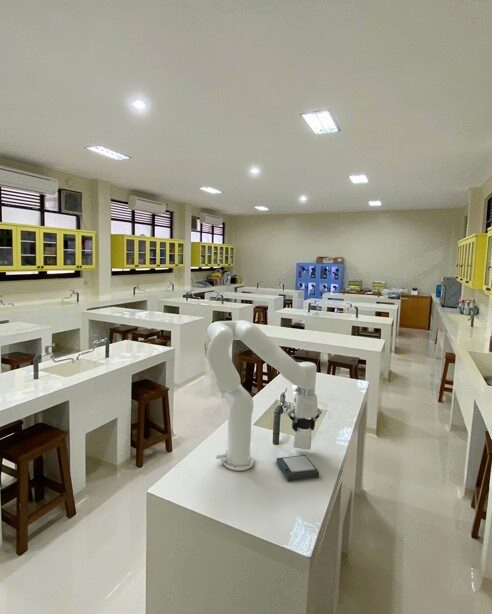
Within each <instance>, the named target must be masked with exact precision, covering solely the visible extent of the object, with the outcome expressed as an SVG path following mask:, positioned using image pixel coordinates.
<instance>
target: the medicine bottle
mask: <svg viewBox="0 0 492 614" xmlns="http://www.w3.org/2000/svg"><path fill="white" fill-rule="evenodd" d="M310 427H311V421H310V418H298V420H297V431H296V432H295V431H294V434H293V436H294V437H293V448H295V449H302V450H307V451H309V450H311V444H312V429H311V428H310Z"/></svg>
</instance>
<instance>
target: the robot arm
mask: <svg viewBox="0 0 492 614" xmlns="http://www.w3.org/2000/svg"><path fill="white" fill-rule="evenodd" d="M206 334H207V337H208V339H209V340H210V341H209V343H208V346H207V350H206V358H207V362H208V364H209V366H210V369H211V370H212V379H213V381H214V383H215V385H216V387H217V388H218V390H219V391H218V392H219V393H220V394H221V396H222V398H223V400H224V401H225V403H226V404H227V405H228V407H229V414H228V419H227V449H226V450H225V452H223V453H218V454H215V459H216V460H219V462H223V465H224V466H225V467H226V468H227V469H229V470H231V471H237V472H241V471H246V470H249V469H251V468H252V467H253V466H254V463H255V461H254V458H253V457H252V456H251V440H252V439H251V437H252V436H251V435H252V418H253V412H254V399H253V397H252V395H251V394H250V393H249V391H248V390H247V389H246V388H244V386H243V385H242V384H241V376H240V373H239V372H238V370H237V369H236V367H235V364H234V363H233V361H232V358H231V356H230V353H229V350H230V347H231V346H232V344H233V341H237V340H239V341H241V342H242V343H243V344H244V345H245V346H246V347H248V349H250V350H251V351H252V352H253V353H254V354H256V355H257V356H258V357H259V358H260V359H261V360H262V361H264V363H266V364H267V365H269V366H271V367H272V368H274V369H275V370H276V371H277V372H279V374H280V375H281V377H282V378H284V379H285V380H287V381H288V382H289V383H291V385H294V386H296V387H295V388H294V389H293V391H294V392H295V394H294V397H293V402H292V407H291V408H290V409H289V410H288V411H286V415H287V417H288V418H289V419H290V420H291V422H292V423H291V429H292V430H293V431H294V433H295V432H296V431H297V420H298V418H308V419H309V420H310V421H311V427H310V428H311V431H315V427H316V422H317V420H318V419H319V418H320V416H321V415H322V413H323V411H322V410H321V409H320V408H318V396H317V393H316V382H317V368H318V367H317V364H316V363H314V362H311V361H302V362H299V361H296V360H295V359H293V358H292V357H291V356H290V355H289V354H288V353H287V352H286V351H284V350H283V348H281V347H280V346H279V345H278V343H277V344H276V342H275V341H274V340H272V339H271V338H270V337H269V336H268V335H267V334H266V333H265V332H264V331H263V330H261V328H260V327H258V326H257V325H256V324H254V323H252V322H250V321H248V320H245V319H242V320H241V319H240V320H218V321H214V322H212V323H210V324H209V325H208V327H207V330H206ZM292 414H293V415H292Z"/></svg>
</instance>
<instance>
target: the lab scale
mask: <svg viewBox="0 0 492 614" xmlns="http://www.w3.org/2000/svg"><path fill="white" fill-rule="evenodd" d="M275 464H276V465H277V467H278V468H279V470H280V472H281V473H282V475H283V476H284V478H285V479H286V481H287V482H293V481H294V482H295V481H302V480H310V479H319V476H320V471H319V470H318V468H317V467H316V466H315V465H314V464H313V463H312V461H311V460H310V459H309V458H308V456H307V455H306V454H301V455H300V454H299V455H290V456H283V457H282V456H281V457H276V461H275Z"/></svg>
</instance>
